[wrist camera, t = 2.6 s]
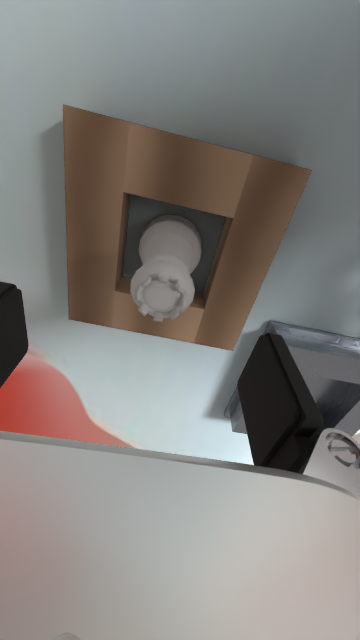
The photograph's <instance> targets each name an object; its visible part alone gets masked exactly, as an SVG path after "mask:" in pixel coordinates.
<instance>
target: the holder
mask: <svg viewBox="0 0 360 640" xmlns="http://www.w3.org/2000/svg"><path fill="white" fill-rule="evenodd" d="M265 333H273V334H278V335H281V336H282V337H283V339H284V341H285V343H286V345H287V347H288V349H289V351H290V353H291V355H292V357H293V359H294V361H295V363H296V365H297V367H298V369H299V371H300V373H301V375H302V377H303V379H304V381H305V383H306V385H307V387H308V389H309V391H310V393H311V395H312V397H313V399H314V401H315V403H316V405H317V407H318V409H319V411H320V413H321V415H322V417H323V419H324V424H325V426H326V428H327V429H328V428H334V429H338V430H341V431H343V432H345V433H346V434H348V435H350V436H351V437H352V436H353V435H354V434H355V433H356V432H357V431H358V430H359V429H360V339H358V338H353V337H348V336H344V335H339V334H334V333H329V332H324V331H319V330H314V329H310V328H305V327H300V326H295V325H290V324H285V323H280V322H275V321H271V320H270V322H269V324H268V326H267V328H266V330H265V332H264V334H265ZM264 334H263V335H264ZM224 417H227V418H231V424H232V432H238V433H244V434H247V430H246V425H245V421H244V416H243V411H242V407H241V402H240V397H239V393H238V386H237V388H236V390H235V392H234V394H233V396H232V398H231V400H230V402H229V404H228V406H227V408H226V410H225V412H224Z"/></svg>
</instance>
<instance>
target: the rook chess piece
mask: <svg viewBox="0 0 360 640" xmlns="http://www.w3.org/2000/svg"><path fill="white" fill-rule="evenodd" d="M201 252H202V241H201V237H200V233H199V232H198V230H197V229H196V227H195V226H194V225H193V223H191V222H190V221H188V220H187V219H185V218H183V217H182V216H177V215H171V214H167V215H163V216H159V217H156V218H155V219H153V220H152V221H151V222H150V223H148V224H147V225H146V226H145V228H144V230H143V232H142V234H141V236H140V240H139V255H140V258H141V261H142V264H143V266H142V267H140V268H139V269H138V270H136V272H135V274H134V276H133V278H132V280H131V290H130V292H131V295H132V297H133V300H134V302H135V303H136V304H137V305H138V311H139V312H140V313H141V314H142V315H143V316H145V315H146V314H147V313H148V314H150V315H152V316H154V319H153V321H156V322H163V318H167V317H170V318H171V319H172V321H173V320H174V319H176V318H178V317H179V316H180V313H182V312H184V311H185V310H187V308H188V307H189V305H190V304H191V303H192V301H193V297H194V293H195V288H194V284H193V280H192V278H191V277H190V274H191V273H192V272H193V271H194V269H195V268H196V267H197V265H198V264H199V262H200V257H201Z"/></svg>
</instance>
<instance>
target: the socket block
mask: <svg viewBox="0 0 360 640" xmlns="http://www.w3.org/2000/svg"><path fill="white" fill-rule="evenodd" d="M63 123H64V160H65V196H66V233H67V270H68V306H69V319H70V320H75V321H81V322H86V323H91V324H96V325H101V326H107V327H112V328H117V329H122V330H127V331H133V332H138V333H143V334H148V335H153V336H159V337H164V338H169V339H174V340H180V341H185V342H190V343H195V344H200V345H206V346H211V347H216V348H221V349H226V350H232V351H233V349H234V347H235V345H236V342H237V340H238V338H239V336H240V333H241V331H242V329H243V326H244V324H245V322H246V320H247V317H248V315H249V313H250V310H251V308H252V306H253V304H254V301H255V299H256V297H257V294H258V292H259V290H260V288H261V285H262V283H263V281H264V278H265V276H266V274H267V272H268V269H269V267H270V265H271V262H272V260H273V258H274V256H275V253H276V251H277V249H278V246H279V244H280V242H281V240H282V237H283V235H284V233H285V230H286V228H287V226H288V224H289V221H290V219H291V217H292V214H293V212H294V210H295V208H296V205H297V203H298V201H299V198H300V196H301V194H302V192H303V189H304V187H305V185H306V182H307V180H308V178H309V176H310V173H311V171H312V170H309V169H305V168H302V167H298V166H294V165H290V164H286V163H283V162H279V161H275V160H271V159H268V158H264V157H260V156H256V155H252V154H249V153H245V152H241V151H237V150H233V149H230V148H226V147H222V146H218V145H214V144H211V143H207V142H203V141H199V140H196V139H192V138H188V137H184V136H180V135H177V134H173V133H169V132H165V131H161V130H158V129H154V128H150V127H146V126H142V125H139V124H135V123H131V122H127V121H124V120H120V119H116V118H112V117H108V116H105V115H101V114H97V113H93V112H89V111H86V110H82V109H78V108H74V107H70V106H66V105H63ZM131 194H134V195H138V196H142V197H146V198H150V199H154V200H159V201H163V202H167V203H171V204H175V205H180V206H184V207H188V208H192V209H196V210H200V211H205V212H209V213H213V214H217V215H221V216H226V219H225V222H224V226H223V229H222V232H221V235H220V239H219V242H218V245H217V249H216V252H215V255H214V259H213V262H212V265H211V268H210V272H209V275H208V278H207V282H206V285H205V288H204V292H203V293H201V292H197V291H195V293H194V297H193V301H192V303H191V304H190V305H189V307H188V308H187V310H185V311H184V312H182V313H180V316H179V317H178V318H176V319H174V320H173V321H172V319H171V318H170V317H167V318H163V322H156V321H153V319H154V316H152V315H150V314H148V313H147V314H146V315H145V316H143V315H142V314H141V313H140V312H139V311H138V305H137V304H136V303H135V302H134V300H133V297H132V295H131V292H130V290H131V280H132V278H130V277H125V276H122V275H123V265H124V255H125V245H126V235H127V226H128V216H129V206H130V196H131Z"/></svg>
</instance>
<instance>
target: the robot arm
mask: <svg viewBox="0 0 360 640" xmlns="http://www.w3.org/2000/svg"><path fill="white" fill-rule="evenodd" d="M27 350H28V338H27V330H26V323H25V315H24V307H23V300H22V293H21V290H20V289H17V287H16V285H14V284H10V283H5V282H0V388H1V386H2V385H3V384H4V382H5V381H6V380H7V378H8V377H9V376H10V374H11V373H12V371H13V370H14V369H15V368H16V366H17V365H18V364H19V362H20V361H21V360H22V358H23V357H24V356H25V354H26V353H27ZM238 393H239V397H240V402H241V407H242V411H243V416H244V421H245V425H246V430H247V435H248V439H249V444H250V449H251V453H252V458H253V462H254V465H248V464H242V463H236V462H228V461H221V460H214V459H207V458H200V457H192V456H185V455H178V454H171V453H164V452H156V451H149V450H141V449H134V448H126V447H119V446H112V445H104V444H97V443H89V442H81V441H74V440H66V439H58V438H51V437H42V436H35V435H28V434H19V433H12V432H3V431H0V640H360V444H359V443H358V442H357V441H356V440H355V439H353V438H352V437H351V436H350V435H348V434H346V433H345V432H343V431H341V430H338V429H334V428H328V429H327V428H326V426H325V424H324V419H323V417H322V415H321V413H320V411H319V409H318V407H317V405H316V403H315V401H314V399H313V397H312V395H311V393H310V391H309V389H308V387H307V385H306V383H305V381H304V379H303V377H302V375H301V373H300V371H299V369H298V367H297V365H296V363H295V361H294V359H293V357H292V355H291V353H290V351H289V349H288V347H287V345H286V343H285V341H284V339H283V337H282V336H281V335H278V334H273V333H265V334H264V335H261V336H260V337H259V339H258V341H257V343H256V345H255V347H254V349H253V351H252V353H251V355H250V358H249V360H248V362H247V364H246V366H245V368H244V370H243V372H242V374H241V376H240V378H239V380H238Z"/></svg>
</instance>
